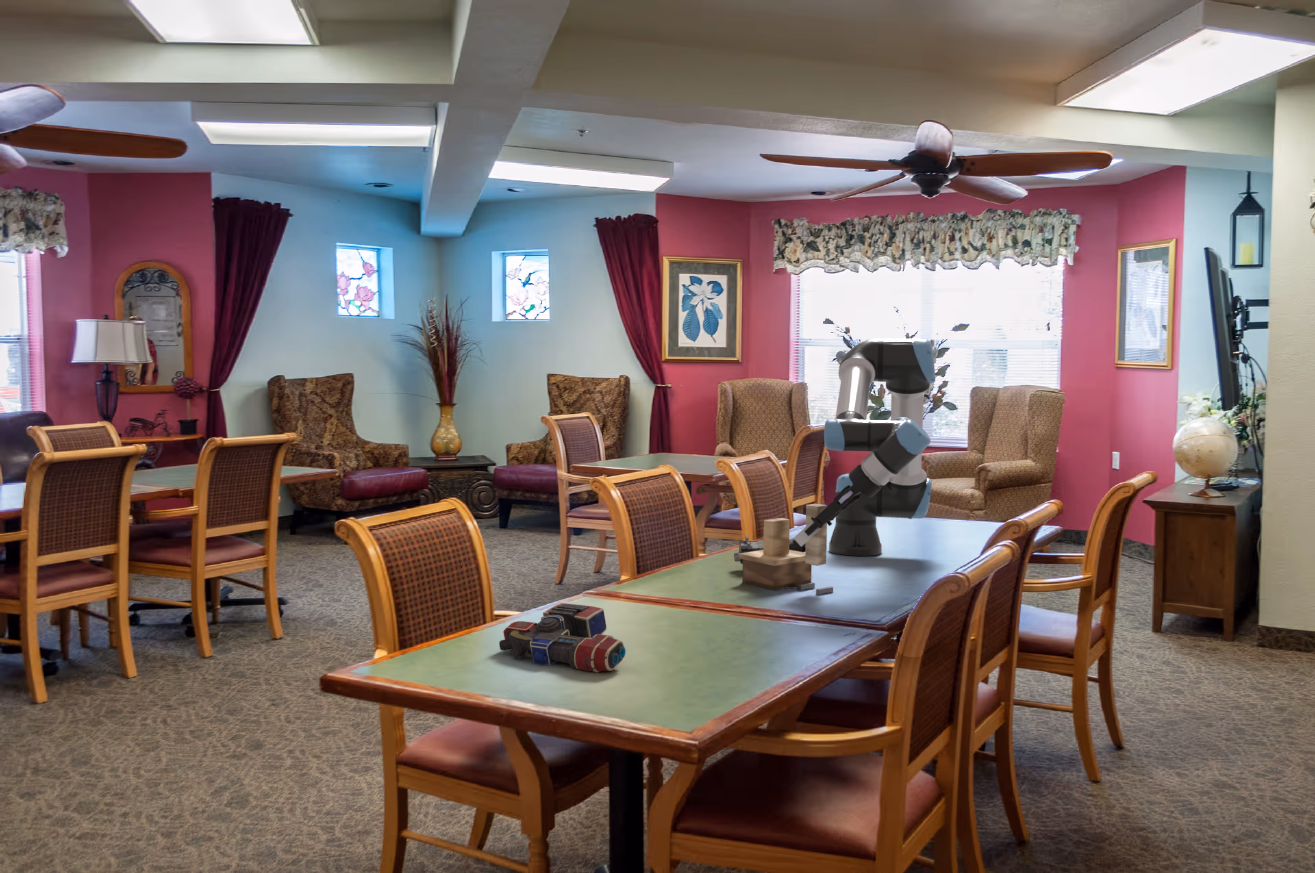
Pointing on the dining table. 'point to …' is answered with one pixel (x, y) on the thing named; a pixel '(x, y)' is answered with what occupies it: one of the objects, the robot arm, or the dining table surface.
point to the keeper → (812, 585)
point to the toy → (752, 546)
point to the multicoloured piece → (566, 639)
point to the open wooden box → (776, 574)
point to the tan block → (816, 538)
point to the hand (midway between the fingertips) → (800, 540)
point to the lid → (775, 545)
